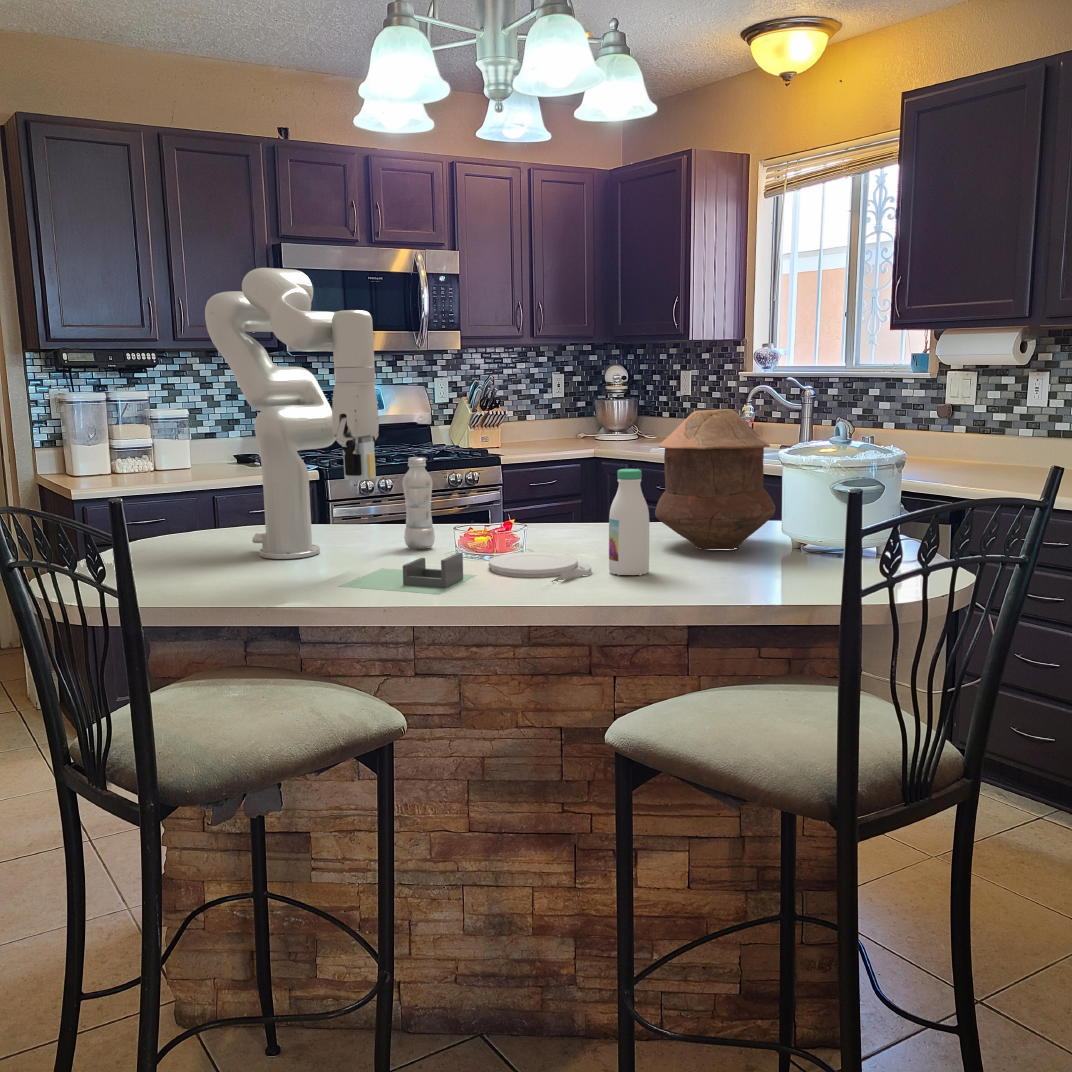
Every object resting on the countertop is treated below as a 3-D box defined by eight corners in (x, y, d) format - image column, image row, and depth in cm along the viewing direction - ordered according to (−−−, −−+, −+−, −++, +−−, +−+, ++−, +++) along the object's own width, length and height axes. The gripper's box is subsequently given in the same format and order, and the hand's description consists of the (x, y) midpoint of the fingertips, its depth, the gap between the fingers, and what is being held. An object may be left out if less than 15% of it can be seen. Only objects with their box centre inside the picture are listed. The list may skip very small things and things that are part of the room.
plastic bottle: (430, 552, 214) (427, 459, 210) (400, 551, 215) (397, 459, 212) (439, 546, 220) (436, 456, 217) (409, 545, 221) (406, 456, 218)
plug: (344, 479, 189) (342, 437, 188) (355, 477, 193) (353, 436, 191) (367, 480, 187) (365, 437, 186) (378, 477, 191) (376, 436, 190)
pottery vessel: (778, 561, 200) (783, 412, 195) (651, 558, 205) (652, 412, 200) (770, 538, 226) (774, 405, 220) (657, 536, 230) (659, 406, 225)
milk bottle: (652, 569, 194) (653, 468, 190) (643, 578, 186) (644, 472, 183) (614, 567, 196) (614, 466, 193) (604, 575, 189) (604, 471, 185)
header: (403, 585, 177) (402, 557, 176) (422, 576, 184) (421, 550, 183) (445, 588, 174) (445, 560, 173) (463, 579, 181) (462, 552, 180)
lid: (601, 582, 185) (601, 566, 184) (495, 587, 181) (494, 571, 181) (581, 564, 201) (581, 549, 201) (483, 568, 198) (483, 553, 197)
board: (338, 592, 177) (338, 586, 177) (382, 574, 192) (381, 568, 192) (439, 601, 170) (439, 594, 170) (476, 581, 185) (476, 575, 185)
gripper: (360, 377, 196) (364, 469, 199) (313, 378, 181) (319, 478, 184) (393, 376, 193) (398, 470, 196) (349, 377, 178) (354, 479, 181)
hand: (359, 473), depth 190 cm, fingers closed on plug, 4 cm apart
